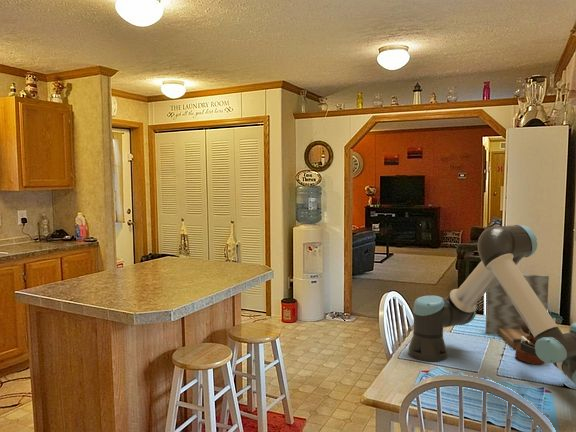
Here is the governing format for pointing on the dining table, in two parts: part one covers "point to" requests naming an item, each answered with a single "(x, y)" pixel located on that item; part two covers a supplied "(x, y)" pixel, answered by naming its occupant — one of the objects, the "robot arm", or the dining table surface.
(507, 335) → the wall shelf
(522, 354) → the brown curved piece
